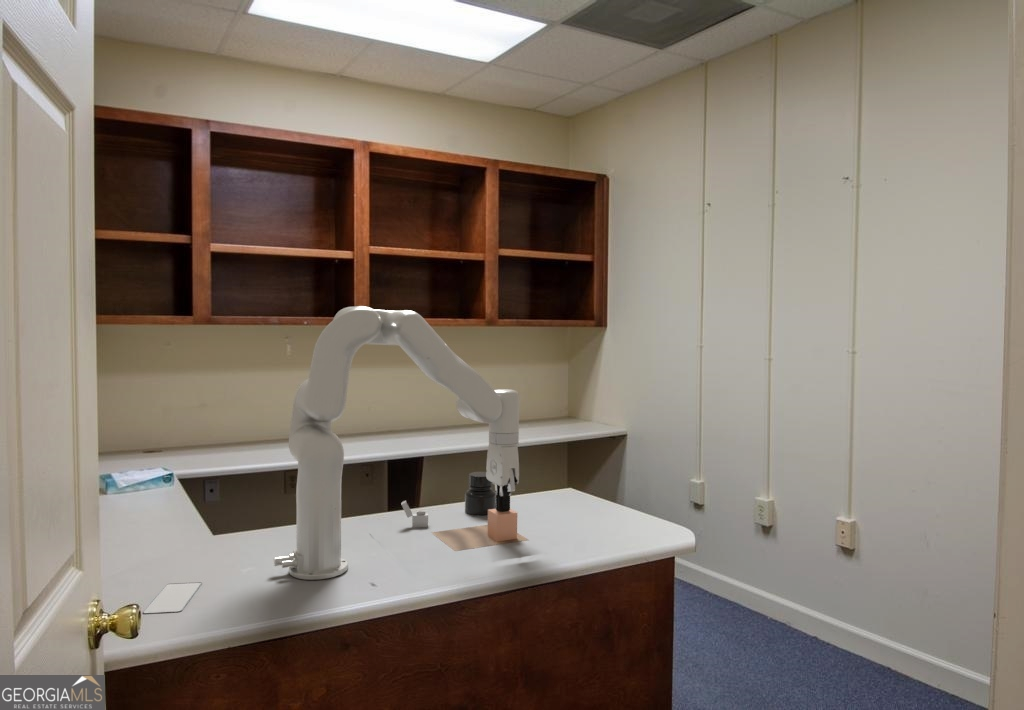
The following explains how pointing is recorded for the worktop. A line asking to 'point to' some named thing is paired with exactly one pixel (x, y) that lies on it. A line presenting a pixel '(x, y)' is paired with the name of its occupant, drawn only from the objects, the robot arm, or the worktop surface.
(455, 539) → the base board
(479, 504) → the ink bottle
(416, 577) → the worktop surface
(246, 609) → the worktop surface
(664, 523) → the worktop surface
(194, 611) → the worktop surface
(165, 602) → the smartphone
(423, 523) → the lighter
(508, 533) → the salmon orange block
